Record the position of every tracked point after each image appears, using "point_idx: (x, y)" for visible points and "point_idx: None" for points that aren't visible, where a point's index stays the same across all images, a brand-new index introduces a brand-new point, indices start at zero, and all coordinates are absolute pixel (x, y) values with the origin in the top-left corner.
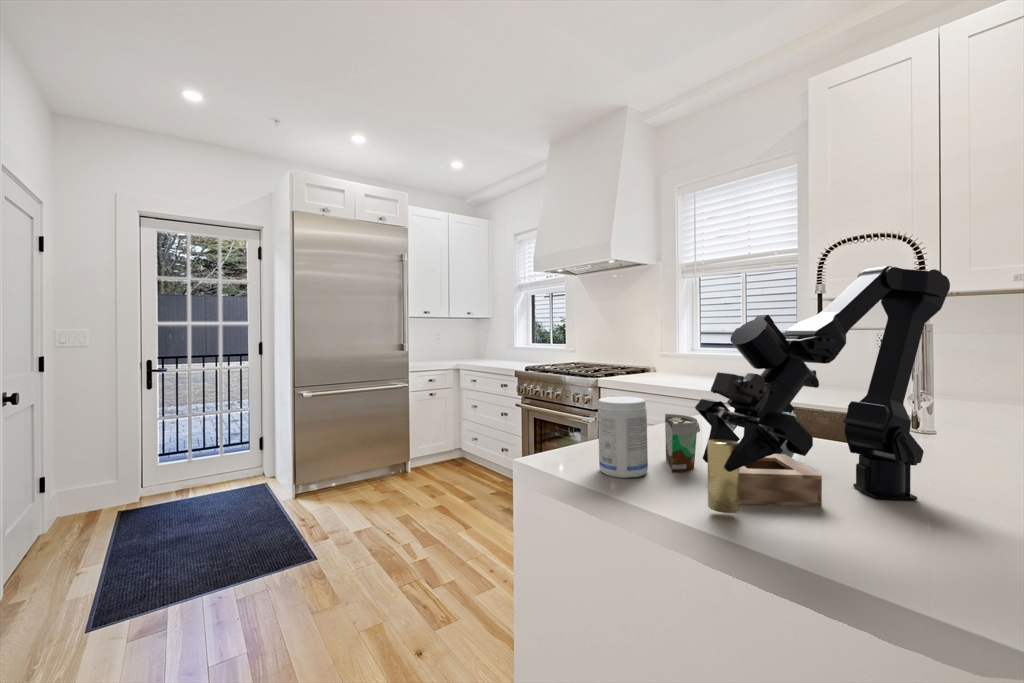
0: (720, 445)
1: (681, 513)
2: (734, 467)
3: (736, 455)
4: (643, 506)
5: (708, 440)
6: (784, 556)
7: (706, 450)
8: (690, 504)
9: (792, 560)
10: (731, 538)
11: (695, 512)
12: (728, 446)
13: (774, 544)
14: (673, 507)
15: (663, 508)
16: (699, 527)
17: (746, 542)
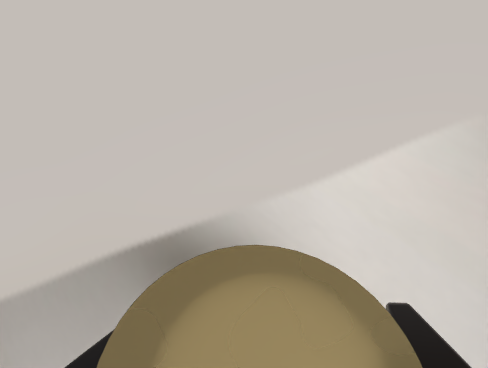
0: (157, 282)
1: (360, 222)
2: None
3: (73, 363)
4: (454, 132)
5: (386, 318)
6: (24, 304)
7: (429, 345)
8: (443, 316)
9: (3, 306)
10: (151, 248)
11: (357, 277)
12: (108, 344)
13: (75, 340)
14: (423, 228)
15: (420, 188)
16: (243, 209)
17: (117, 270)
